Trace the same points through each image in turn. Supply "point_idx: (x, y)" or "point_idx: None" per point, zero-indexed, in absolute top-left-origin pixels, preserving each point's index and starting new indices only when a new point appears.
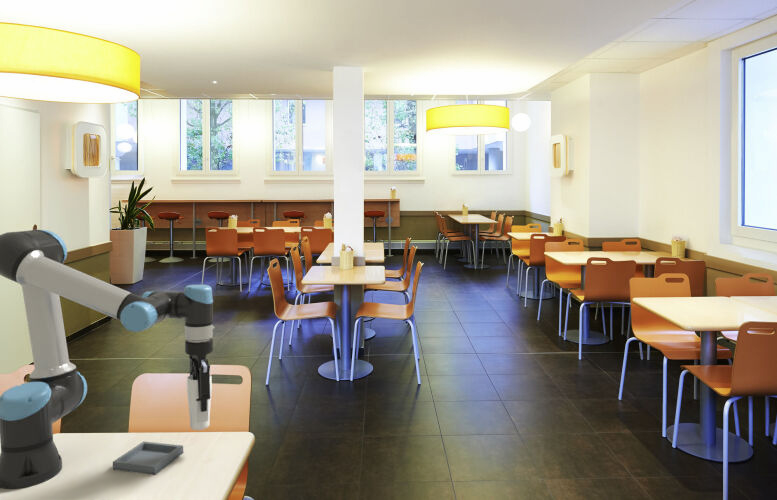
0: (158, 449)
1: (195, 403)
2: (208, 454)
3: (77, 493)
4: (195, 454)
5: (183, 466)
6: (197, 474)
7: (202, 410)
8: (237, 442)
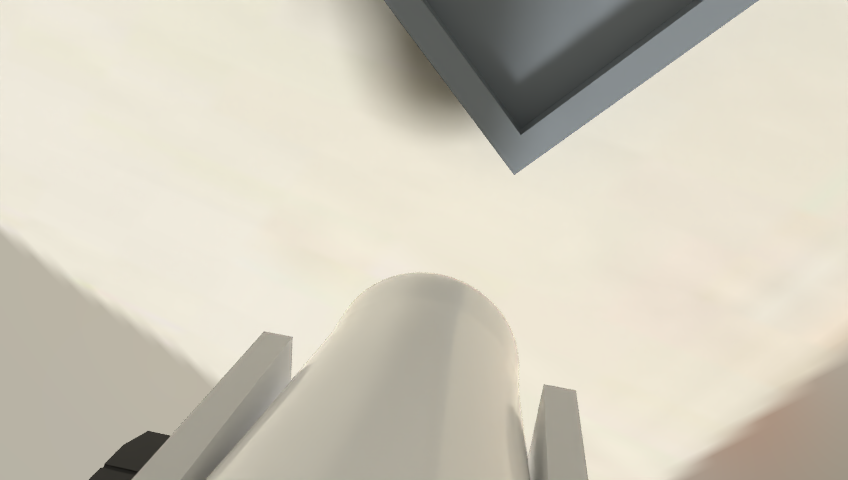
0: (678, 13)
1: (209, 478)
2: None
3: None
4: (435, 218)
5: (309, 88)
6: (155, 120)
7: (126, 452)
8: None
